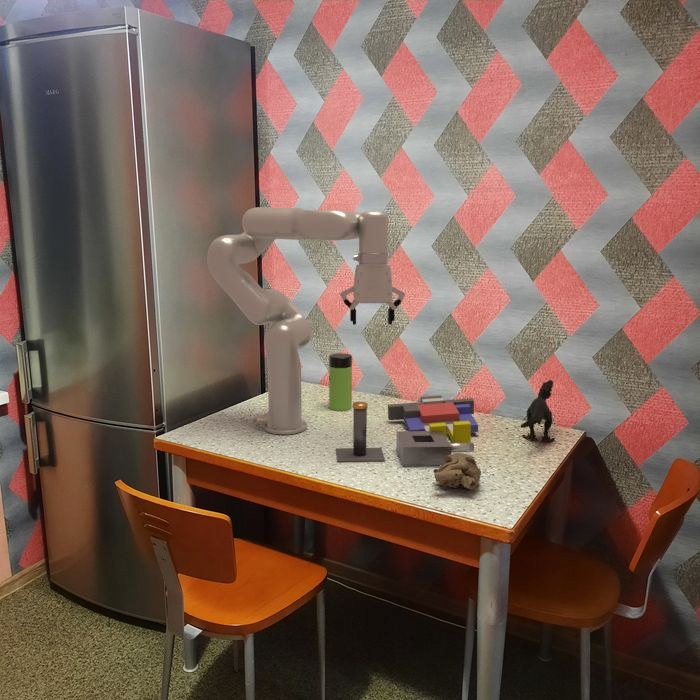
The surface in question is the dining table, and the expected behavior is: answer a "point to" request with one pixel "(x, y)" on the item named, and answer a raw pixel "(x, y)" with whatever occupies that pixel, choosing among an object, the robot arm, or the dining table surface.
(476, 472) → the tan lumpy mass
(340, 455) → the mat
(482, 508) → the dining table surface
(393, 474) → the dining table surface
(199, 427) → the dining table surface
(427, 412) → the toy
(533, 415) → the toy
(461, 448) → the block
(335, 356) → the tumbler
